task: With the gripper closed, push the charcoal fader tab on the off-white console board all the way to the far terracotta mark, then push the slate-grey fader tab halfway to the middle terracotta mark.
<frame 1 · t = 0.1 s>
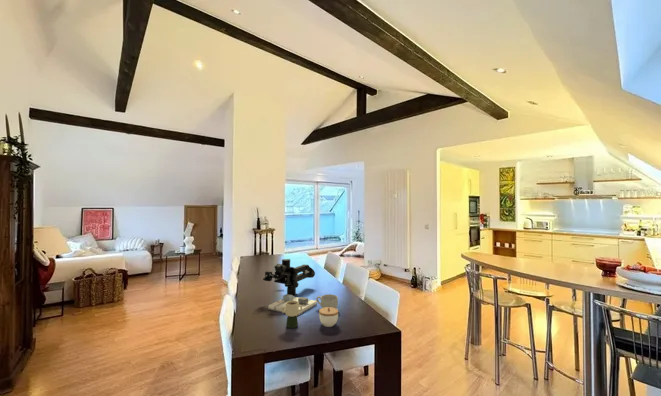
hand: (268, 280, 191), 17 cm above the table, tool horizontal, fingers open, 9 cm apart
charcoal fader: (303, 301, 189), point 3 cm above the table, slide at 0.0 cm
teacup: (327, 309, 185), on the table
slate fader: (287, 299, 194), point 3 cm above the table, slide at 0.0 cm
character mug: (292, 327, 159), on the table
console: (293, 306, 189), on the table
lidded jar: (328, 325, 162), on the table
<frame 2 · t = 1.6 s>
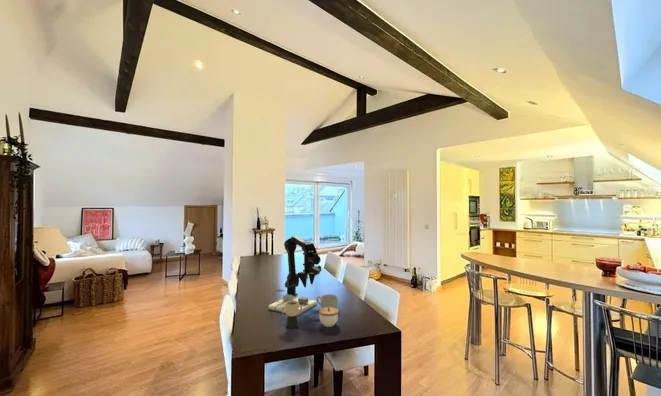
hand: (308, 285, 194), 12 cm above the table, tool pointing down, fingers open, 8 cm apart
nothing on the table moved.
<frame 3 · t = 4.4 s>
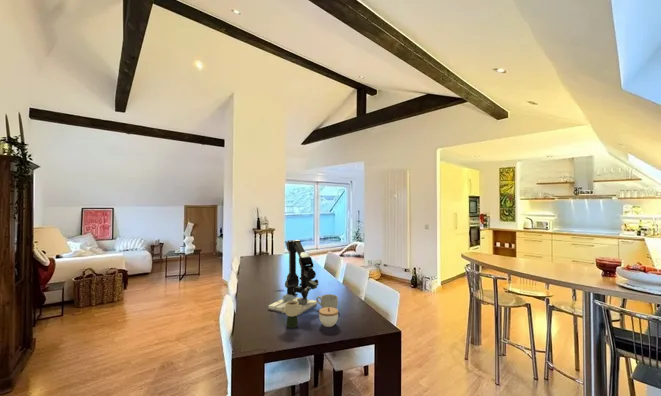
hand: (305, 300, 191), 4 cm above the table, tool pointing down, fingers closed
charcoal fader: (302, 302, 188), point 3 cm above the table, slide at 1.0 cm, touching gripper
everything else where it was.
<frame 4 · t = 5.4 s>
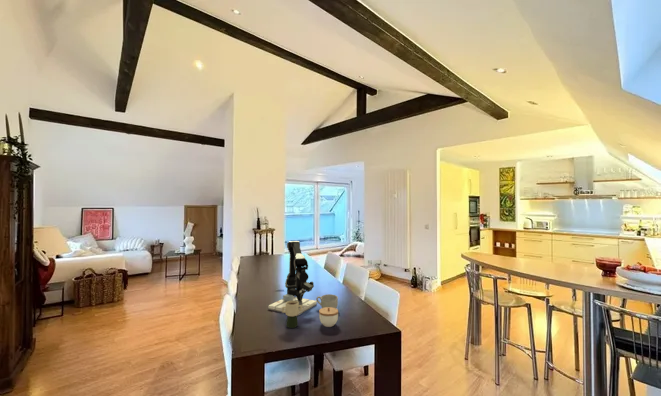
hand: (300, 302, 185), 4 cm above the table, tool pointing down, fingers closed
charcoal fader: (297, 305, 183), point 3 cm above the table, slide at 6.9 cm, touching gripper
everything else where it was.
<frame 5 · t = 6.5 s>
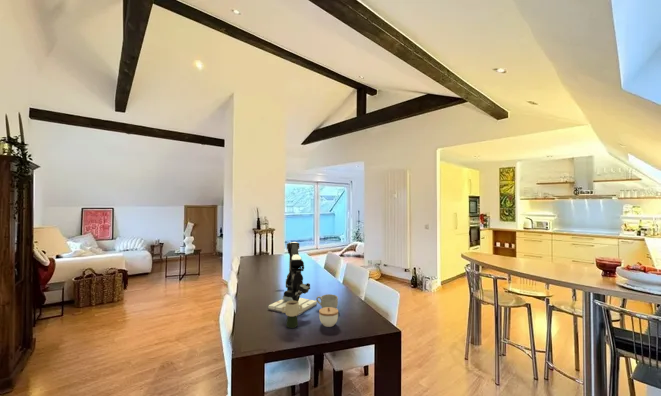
hand: (296, 304, 182), 4 cm above the table, tool pointing down, fingers closed
charcoal fader: (293, 307, 179), point 3 cm above the table, slide at 11.0 cm, touching gripper
everything else where it was.
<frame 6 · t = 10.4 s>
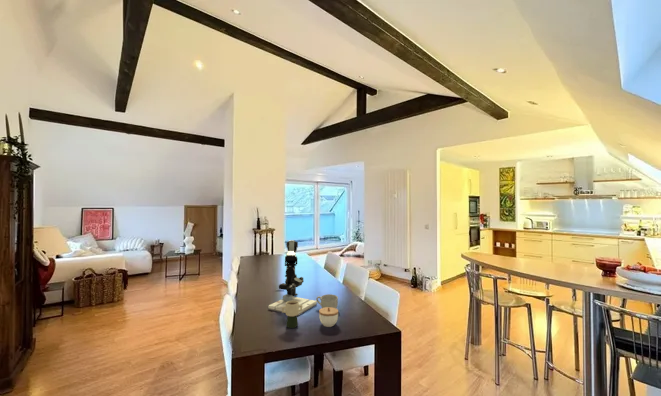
hand: (290, 296, 197), 4 cm above the table, tool pointing down, fingers closed
charcoal fader: (293, 307, 179), point 3 cm above the table, slide at 11.2 cm
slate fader: (287, 299, 194), point 3 cm above the table, slide at 0.4 cm, touching gripper
everything else where it was.
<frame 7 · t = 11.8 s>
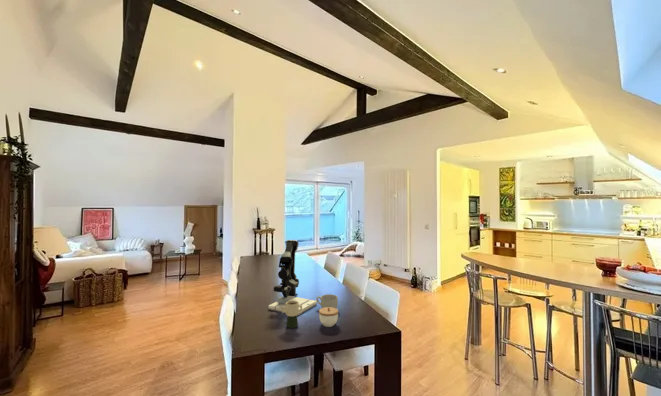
hand: (285, 299, 192), 4 cm above the table, tool pointing down, fingers closed
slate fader: (282, 301, 189), point 3 cm above the table, slide at 5.7 cm, touching gripper
everything else where it was.
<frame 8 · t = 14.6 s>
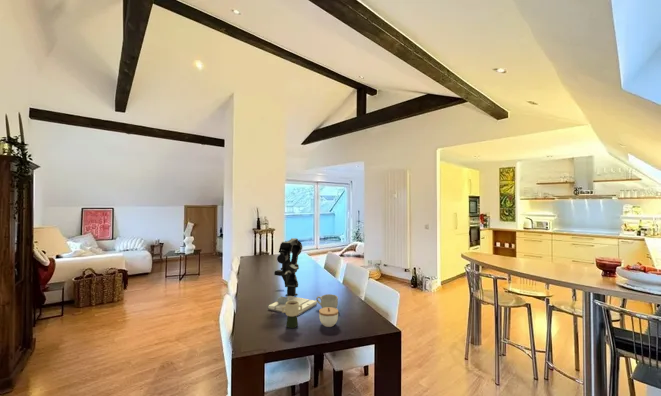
hand: (286, 283, 201), 12 cm above the table, tool pointing down, fingers closed
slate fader: (282, 301, 189), point 3 cm above the table, slide at 5.7 cm
everything else where it was.
at the end: charcoal fader slide at 11.2 cm; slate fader slide at 5.7 cm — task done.
